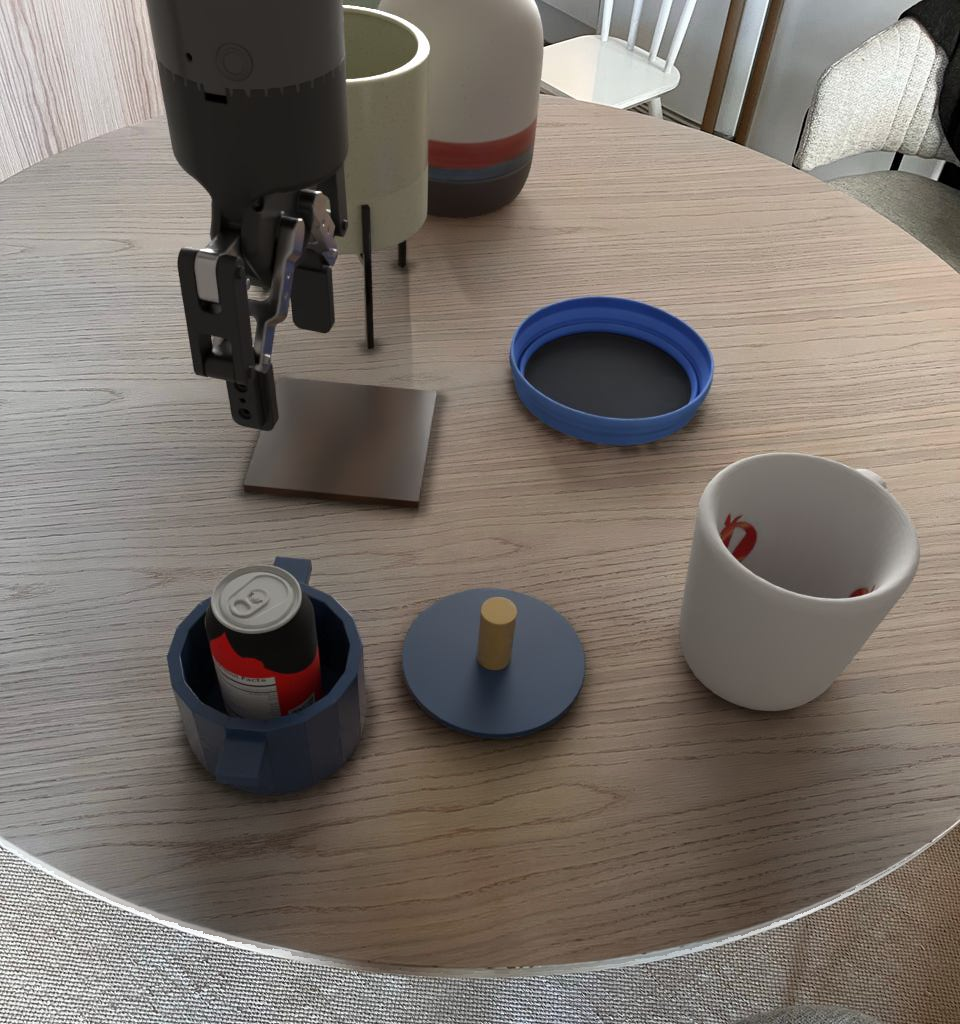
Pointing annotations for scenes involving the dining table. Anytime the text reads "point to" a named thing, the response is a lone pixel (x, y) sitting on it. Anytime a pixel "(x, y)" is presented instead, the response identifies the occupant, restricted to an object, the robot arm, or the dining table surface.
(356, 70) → the planter
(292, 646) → the beverage can
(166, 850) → the dining table surface
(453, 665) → the pot lid
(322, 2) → the robot arm
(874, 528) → the cup
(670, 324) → the bowl
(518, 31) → the vase
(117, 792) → the dining table surface
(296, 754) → the pot
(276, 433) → the trivet
